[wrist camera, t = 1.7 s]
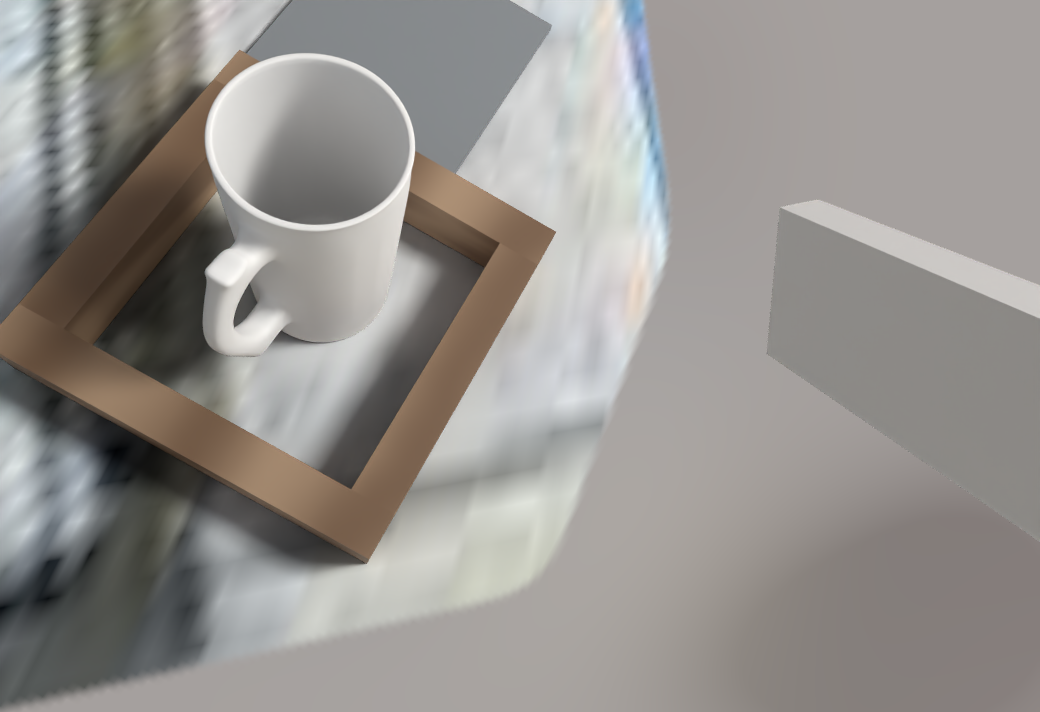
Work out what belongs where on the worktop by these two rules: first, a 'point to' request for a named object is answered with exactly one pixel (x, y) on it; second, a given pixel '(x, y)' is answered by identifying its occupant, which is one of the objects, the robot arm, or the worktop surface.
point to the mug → (305, 200)
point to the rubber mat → (421, 57)
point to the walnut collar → (207, 436)
